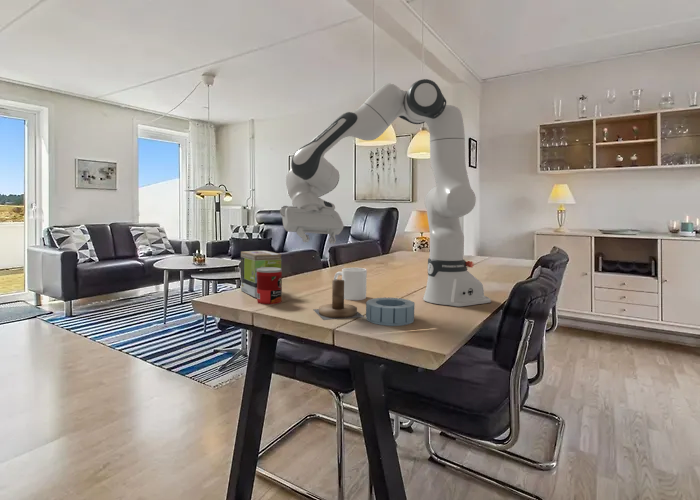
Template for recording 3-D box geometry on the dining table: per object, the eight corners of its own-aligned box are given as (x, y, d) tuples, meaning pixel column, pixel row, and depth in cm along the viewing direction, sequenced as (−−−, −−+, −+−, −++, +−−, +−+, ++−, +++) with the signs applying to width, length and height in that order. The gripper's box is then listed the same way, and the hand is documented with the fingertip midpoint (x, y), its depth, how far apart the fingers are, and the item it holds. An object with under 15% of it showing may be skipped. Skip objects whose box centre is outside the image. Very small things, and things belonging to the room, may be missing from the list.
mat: (351, 308, 129) (351, 307, 129) (364, 318, 117) (364, 316, 117) (312, 310, 125) (312, 309, 125) (323, 321, 114) (323, 319, 113)
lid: (350, 307, 128) (350, 276, 127) (362, 316, 118) (362, 283, 117) (314, 309, 125) (315, 278, 124) (324, 319, 114) (324, 284, 113)
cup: (359, 302, 137) (360, 271, 136) (327, 298, 142) (328, 269, 141) (370, 297, 144) (370, 268, 143) (339, 294, 149) (339, 266, 148)
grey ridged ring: (401, 313, 124) (401, 296, 123) (422, 325, 111) (422, 306, 111) (359, 316, 120) (360, 298, 119) (377, 328, 107) (377, 309, 107)
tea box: (282, 295, 146) (282, 253, 144) (254, 298, 140) (254, 254, 139) (266, 288, 158) (265, 249, 157) (240, 290, 153) (239, 250, 151)
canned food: (274, 306, 130) (274, 271, 129) (252, 304, 132) (251, 269, 131) (286, 301, 137) (286, 268, 136) (264, 299, 139) (264, 266, 138)
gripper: (282, 198, 128) (293, 233, 121) (338, 204, 140) (351, 236, 132) (275, 212, 132) (285, 246, 125) (330, 217, 144) (342, 249, 137)
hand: (320, 241), depth 129 cm, fingers open, 8 cm apart
